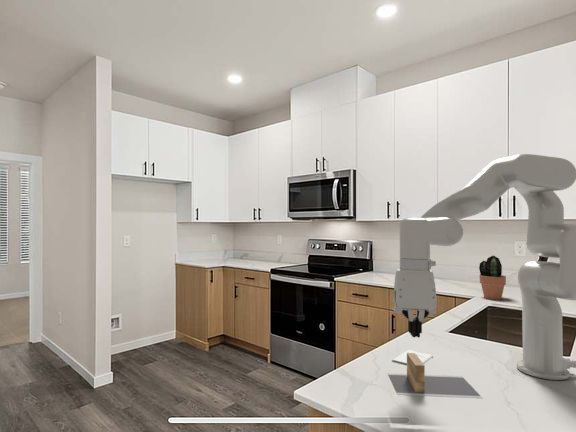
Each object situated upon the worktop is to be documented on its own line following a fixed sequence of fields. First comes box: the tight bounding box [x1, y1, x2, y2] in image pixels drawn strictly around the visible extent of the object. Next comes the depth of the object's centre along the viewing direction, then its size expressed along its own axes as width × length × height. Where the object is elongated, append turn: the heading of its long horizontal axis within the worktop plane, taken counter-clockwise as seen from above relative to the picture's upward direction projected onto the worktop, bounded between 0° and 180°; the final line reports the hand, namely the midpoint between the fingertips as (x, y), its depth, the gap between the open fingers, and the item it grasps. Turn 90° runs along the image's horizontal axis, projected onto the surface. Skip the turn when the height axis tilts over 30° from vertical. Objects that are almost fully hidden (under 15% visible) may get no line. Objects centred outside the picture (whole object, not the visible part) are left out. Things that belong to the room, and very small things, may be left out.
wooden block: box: [406, 353, 426, 392], centre depth 96 cm, size 2×9×6 cm, turn 175°
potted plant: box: [478, 255, 507, 301], centre depth 216 cm, size 14×14×25 cm
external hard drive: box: [391, 349, 434, 366], centre depth 115 cm, size 2×8×12 cm
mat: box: [387, 372, 483, 399], centre depth 96 cm, size 20×13×1 cm, turn 85°
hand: (414, 335), depth 97 cm, fingers closed
